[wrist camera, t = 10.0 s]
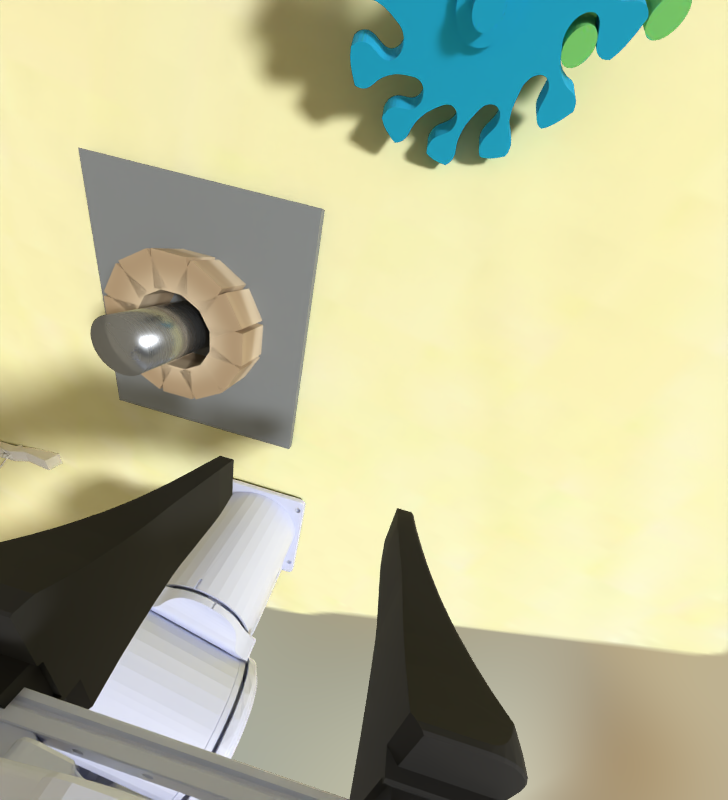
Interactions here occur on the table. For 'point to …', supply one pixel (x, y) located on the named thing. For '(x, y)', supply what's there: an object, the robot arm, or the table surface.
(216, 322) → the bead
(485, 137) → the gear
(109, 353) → the peg
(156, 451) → the table surface
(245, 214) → the mat
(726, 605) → the table surface
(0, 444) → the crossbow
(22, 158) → the table surface
